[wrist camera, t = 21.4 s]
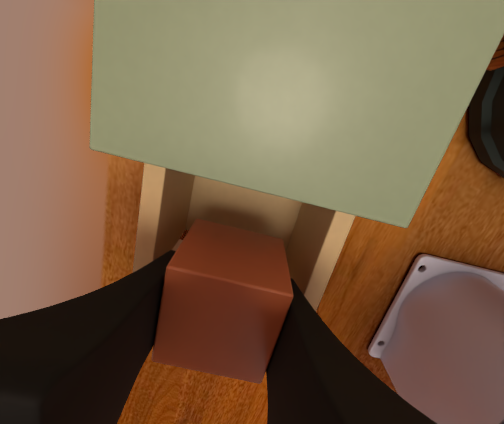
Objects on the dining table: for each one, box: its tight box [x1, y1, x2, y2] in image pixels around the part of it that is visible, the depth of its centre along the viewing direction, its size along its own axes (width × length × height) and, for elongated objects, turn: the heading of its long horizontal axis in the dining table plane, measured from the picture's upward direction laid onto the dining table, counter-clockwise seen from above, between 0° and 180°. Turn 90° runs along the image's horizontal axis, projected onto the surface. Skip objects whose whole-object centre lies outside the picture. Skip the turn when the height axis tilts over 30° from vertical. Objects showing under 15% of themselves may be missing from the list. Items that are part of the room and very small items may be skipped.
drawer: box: [133, 163, 355, 311], centre depth 14 cm, size 18×9×7 cm, turn 166°
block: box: [152, 219, 294, 383], centre depth 11 cm, size 4×4×4 cm
